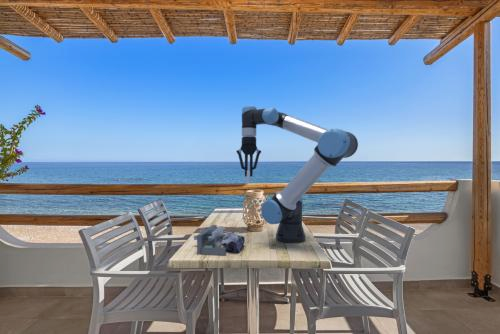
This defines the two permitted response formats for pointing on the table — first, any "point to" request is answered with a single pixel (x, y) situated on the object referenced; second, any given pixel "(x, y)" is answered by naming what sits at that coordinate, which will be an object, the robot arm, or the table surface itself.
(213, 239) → the gauge plunger
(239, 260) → the table surface
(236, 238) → the rock
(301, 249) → the table surface
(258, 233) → the table surface
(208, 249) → the frame
